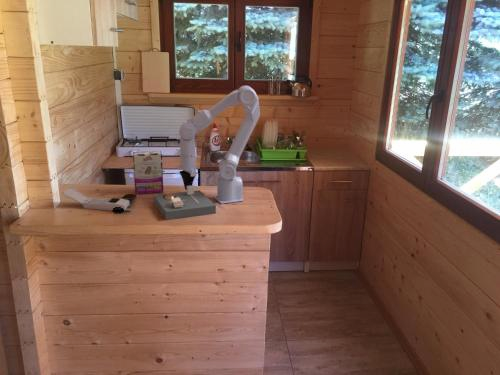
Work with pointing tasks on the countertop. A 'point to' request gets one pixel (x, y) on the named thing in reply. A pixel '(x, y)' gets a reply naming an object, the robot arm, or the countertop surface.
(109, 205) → the white long dark-ended device
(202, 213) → the panel
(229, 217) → the countertop surface
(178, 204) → the rocker switch
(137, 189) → the candy bar box
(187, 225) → the countertop surface
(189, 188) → the tan rectangular block
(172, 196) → the push button
